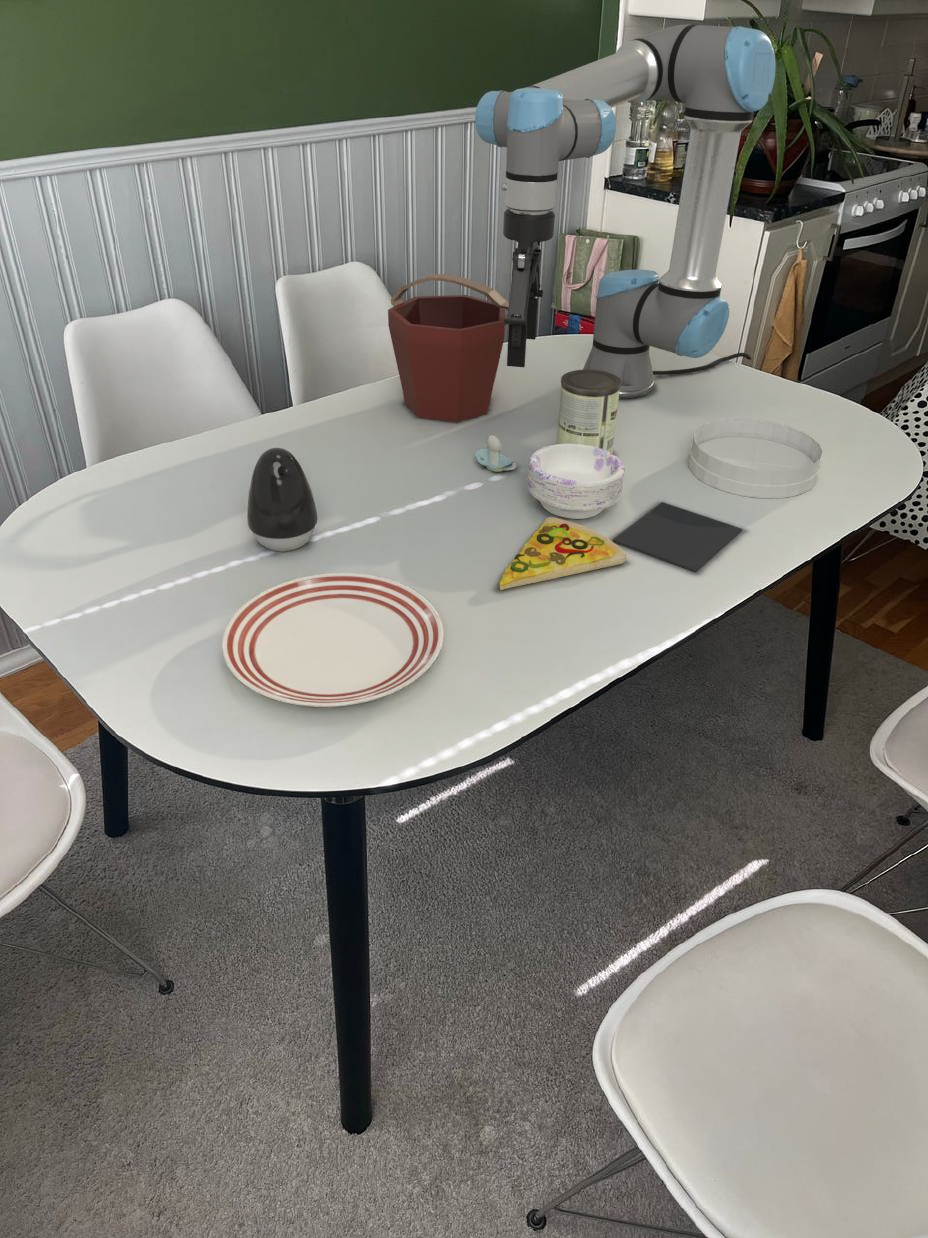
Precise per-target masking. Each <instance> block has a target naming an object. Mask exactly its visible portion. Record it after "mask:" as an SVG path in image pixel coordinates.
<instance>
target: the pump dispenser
mask: <svg viewBox="0 0 928 1238" xmlns="http://www.w3.org/2000/svg"><path fill="white" fill-rule="evenodd" d="M251 475H252V476H251V479H250V482H249V483H250V484H249V489H248V494H247V511H246V512H247V513H246V515H247V516H246V519H247V526H248V528H249V530H250V531H251V532H252V535H253V537H254V538H255V540H256V541H257V542H258V544H260V545H261V546H262V547H264V548H266V549H268V550H271V551H275V552H290V551H294V550H298V549H299V548H301V547H303V546H304V545H306V544H307V543H308V542H309V541H310V540H311V538H312V536H313V535H314V532H315V529H316V526H317V524H318V511H317V506H316V502H315V499H314V495H313V492H312V488H311V486H310V483H309V481H308V478H307V476H306V473H305V471H304V469H303V467H302V466H301V464H300V463H299V461H298V459H297V458H296V457H295V456H294V454H292V452H291V451H289V450H287V449H285V448H282V447H271V448H268V449H266V450H265V451H263V452H262V454H261V455H260V456H259V457H258V459H257V461H256V463H255V465H254V468H253V471H252V474H251Z"/></svg>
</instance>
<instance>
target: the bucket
mask: <svg viewBox="0 0 928 1238" xmlns="http://www.w3.org/2000/svg"><path fill="white" fill-rule="evenodd" d="M430 281H435V282H446V283H453V284H456V285H459V286H462V287H465V288H467V289H470V290H472V291H474V292H477V293H478V294H481V295H483V296H485V297H486V298H487V299H488V300H486V299H483V298H478V297H474V296H471V295H467V294H451V295H449V294H447V295H421V296H420V295H419V296H418V295H417V296H413V297H411V298H409V299H407V300H405V301H403V300H402V298H403V295H404V294H405V293H406V292H407V291H408V290H409V289H410V288H412V287H414V286H416V285H420V284H422V283H427V282H430ZM390 303H391V305H392V306H393V307H390V308H389V309H387V320H388V321H387V322H388V324H387V325H388V331H389V334H390V340H391V344H392V349H393V353H394V357H395V363H396V367H397V371H398V376H399V381H400V385H401V389H402V390H401V391H402V394H403V400H404V404H405V405H406V406H407V407H408V408H409V409H410V410H411V411H412V412H413V413H414V414H415V415H416V416H417V417H418V418H420V419H428V420H437V421H445V422H450V423H458V422H462V421H465V420H470V419H473V418H477V417H481V416H484V415H487V414H488V411H489V407H490V403H491V399H492V394H493V390H494V385H495V380H496V376H497V372H498V368H499V364H500V359H501V355H502V351H503V346H504V341H505V335H506V326H507V324H504V318H508V313H507V314H506V310H507V311H508V310H509V301H507V300H506V299H505V298H504V297H503V296H502V295H500V293H499V292H497V290H496V289H495V288H493V287H491V286H487V285H485V284H482V283H480V282H477V281H475V280H472V279H469V278H466V277H462V276H457V275H451V274H446V273H444V274H443V273H434V274H430V275H427V276H424V277H421V278H418V279H416V280H413V281H412V282H409V283H407V284H404V285H403V286H400V287H399V289H397V291H396V292H395V293H394V294H393V296H392V297H391V298H390Z"/></svg>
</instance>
